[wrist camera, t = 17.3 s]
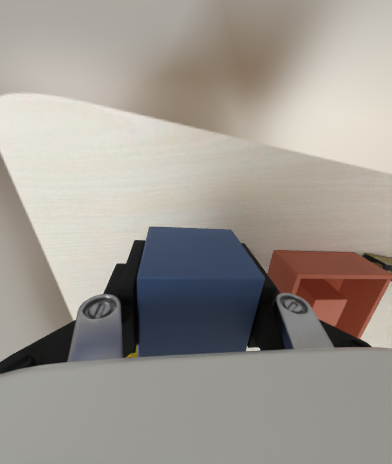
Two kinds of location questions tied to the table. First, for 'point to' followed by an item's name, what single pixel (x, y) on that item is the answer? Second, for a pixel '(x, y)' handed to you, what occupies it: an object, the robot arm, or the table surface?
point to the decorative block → (380, 261)
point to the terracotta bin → (335, 281)
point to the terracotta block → (322, 299)
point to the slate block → (195, 292)
